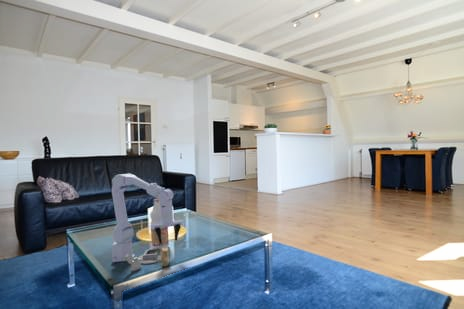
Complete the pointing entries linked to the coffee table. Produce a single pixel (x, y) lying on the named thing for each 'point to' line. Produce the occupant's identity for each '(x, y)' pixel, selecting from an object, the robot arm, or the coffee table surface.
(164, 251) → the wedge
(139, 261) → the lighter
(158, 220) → the fruit juice
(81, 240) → the coffee table surface
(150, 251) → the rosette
